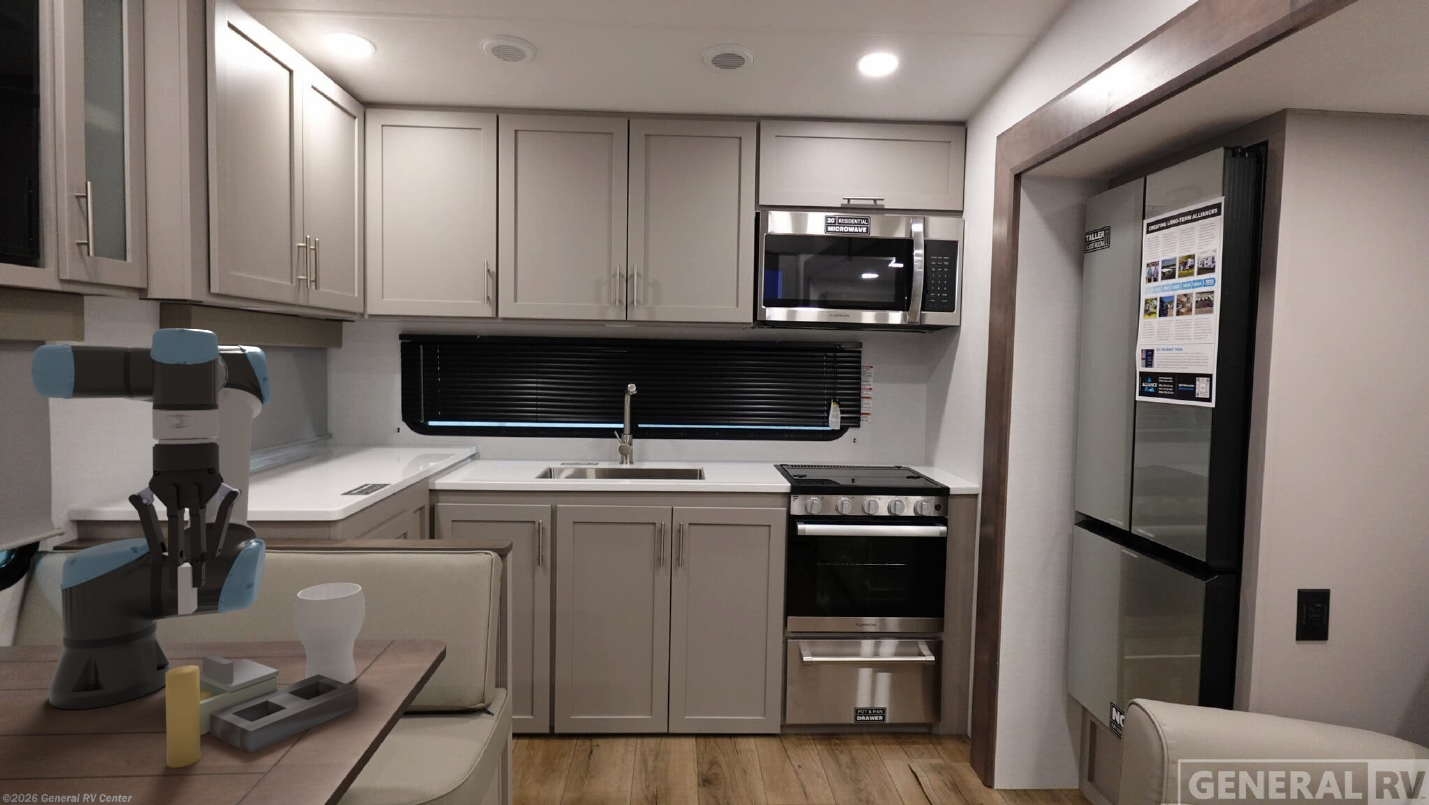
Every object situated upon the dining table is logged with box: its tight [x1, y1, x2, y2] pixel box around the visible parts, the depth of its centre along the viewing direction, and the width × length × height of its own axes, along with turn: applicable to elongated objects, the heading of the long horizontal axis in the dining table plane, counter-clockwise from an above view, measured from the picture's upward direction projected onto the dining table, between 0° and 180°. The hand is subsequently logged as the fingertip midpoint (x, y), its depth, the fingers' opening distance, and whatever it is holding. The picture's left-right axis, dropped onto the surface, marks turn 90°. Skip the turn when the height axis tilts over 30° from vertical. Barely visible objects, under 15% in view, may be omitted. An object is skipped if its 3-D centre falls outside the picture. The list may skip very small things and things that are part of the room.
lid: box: [199, 653, 280, 692], centre depth 113 cm, size 9×7×4 cm
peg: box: [165, 664, 202, 769], centre depth 98 cm, size 4×4×12 cm
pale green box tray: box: [199, 676, 278, 736], centre depth 112 cm, size 9×11×4 cm
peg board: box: [210, 674, 359, 754], centre depth 110 cm, size 10×16×3 cm, turn 151°
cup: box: [292, 582, 366, 684], centre depth 124 cm, size 11×11×15 cm
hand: (187, 611), depth 103 cm, fingers closed
